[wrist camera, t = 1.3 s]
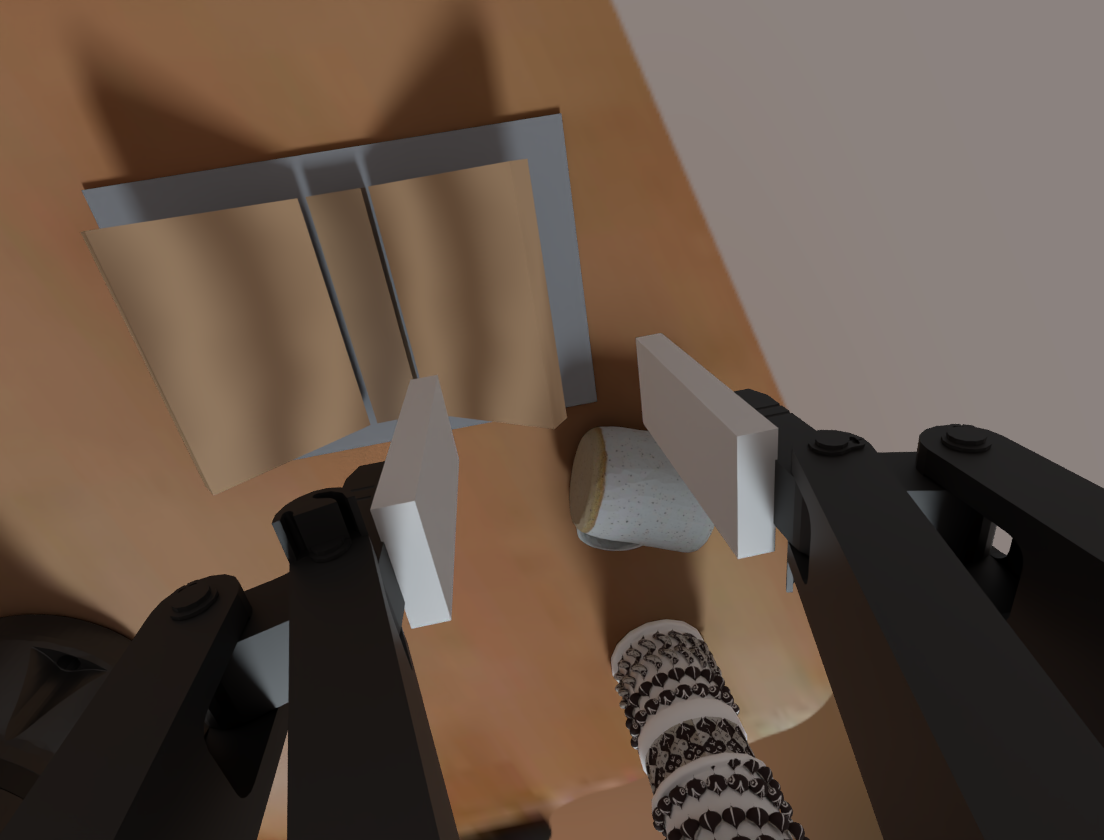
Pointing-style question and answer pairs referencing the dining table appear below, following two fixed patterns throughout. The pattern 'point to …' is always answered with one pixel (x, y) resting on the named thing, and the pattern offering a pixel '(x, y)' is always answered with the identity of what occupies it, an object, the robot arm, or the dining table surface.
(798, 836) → the decorative candle
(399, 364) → the centre strip
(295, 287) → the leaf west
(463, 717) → the dining table surface
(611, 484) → the ceramic mug
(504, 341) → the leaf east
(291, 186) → the underlay mat
